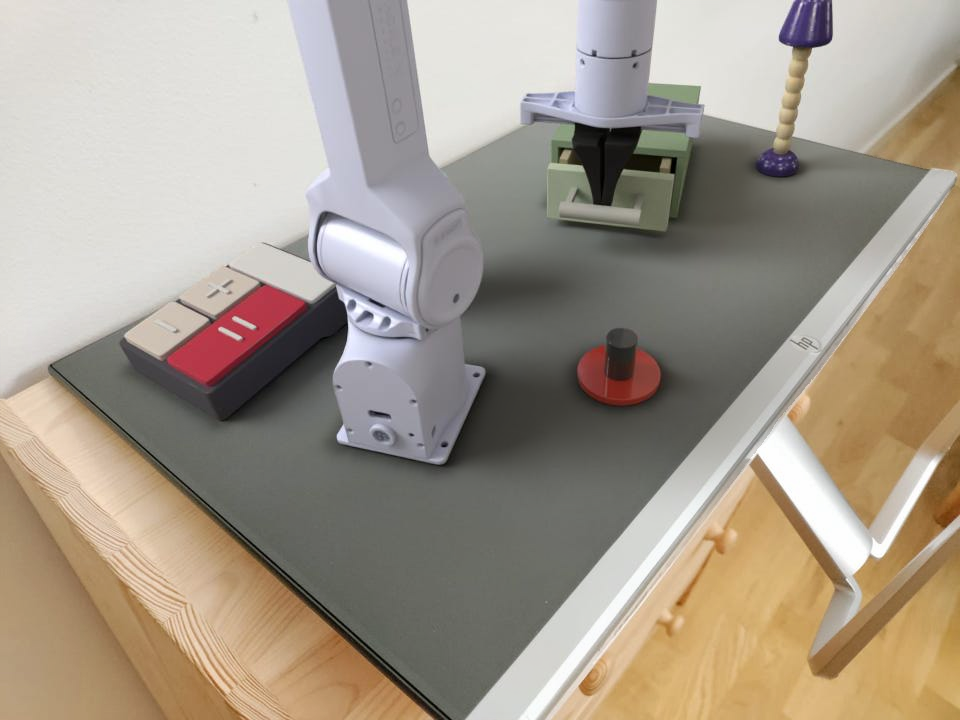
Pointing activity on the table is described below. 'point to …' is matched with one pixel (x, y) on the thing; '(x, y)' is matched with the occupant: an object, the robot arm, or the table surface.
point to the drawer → (635, 197)
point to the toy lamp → (796, 77)
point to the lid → (619, 370)
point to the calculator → (236, 329)
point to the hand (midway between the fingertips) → (603, 205)
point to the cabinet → (650, 139)
